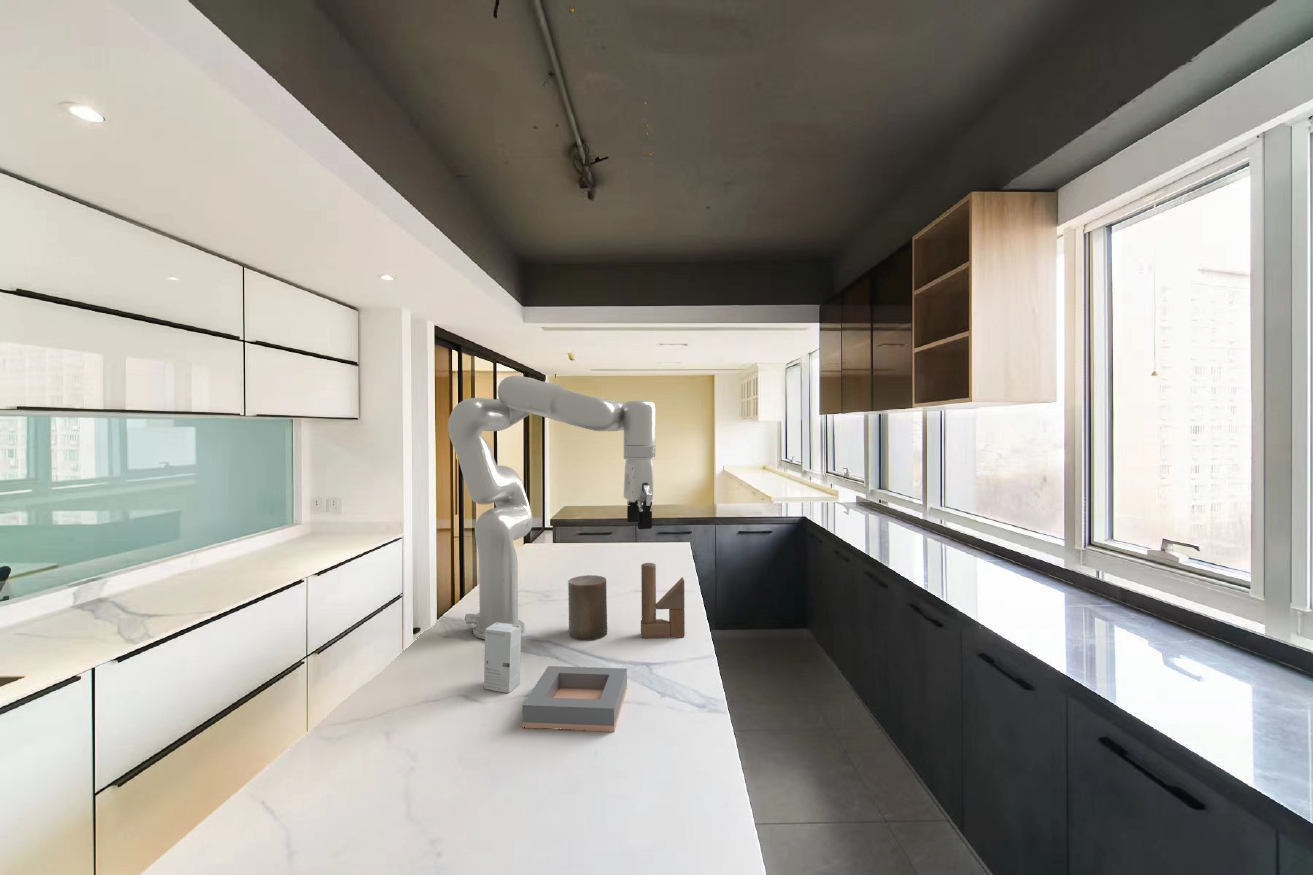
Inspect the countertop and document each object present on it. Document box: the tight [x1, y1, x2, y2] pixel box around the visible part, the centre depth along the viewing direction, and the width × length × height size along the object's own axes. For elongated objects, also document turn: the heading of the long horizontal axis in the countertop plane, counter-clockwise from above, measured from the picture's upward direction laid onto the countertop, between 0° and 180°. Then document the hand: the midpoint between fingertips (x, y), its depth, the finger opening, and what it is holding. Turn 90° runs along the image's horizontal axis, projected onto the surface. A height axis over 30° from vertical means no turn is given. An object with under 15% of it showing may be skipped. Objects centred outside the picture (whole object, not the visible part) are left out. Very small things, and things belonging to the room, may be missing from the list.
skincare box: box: [483, 622, 522, 694], centre depth 113 cm, size 6×4×12 cm
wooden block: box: [640, 562, 686, 639], centre depth 140 cm, size 4×11×18 cm, turn 93°
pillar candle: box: [567, 574, 608, 641], centre depth 142 cm, size 10×10×15 cm
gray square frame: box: [522, 665, 628, 733], centre depth 104 cm, size 16×16×4 cm
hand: (639, 525), depth 133 cm, fingers open, 9 cm apart
